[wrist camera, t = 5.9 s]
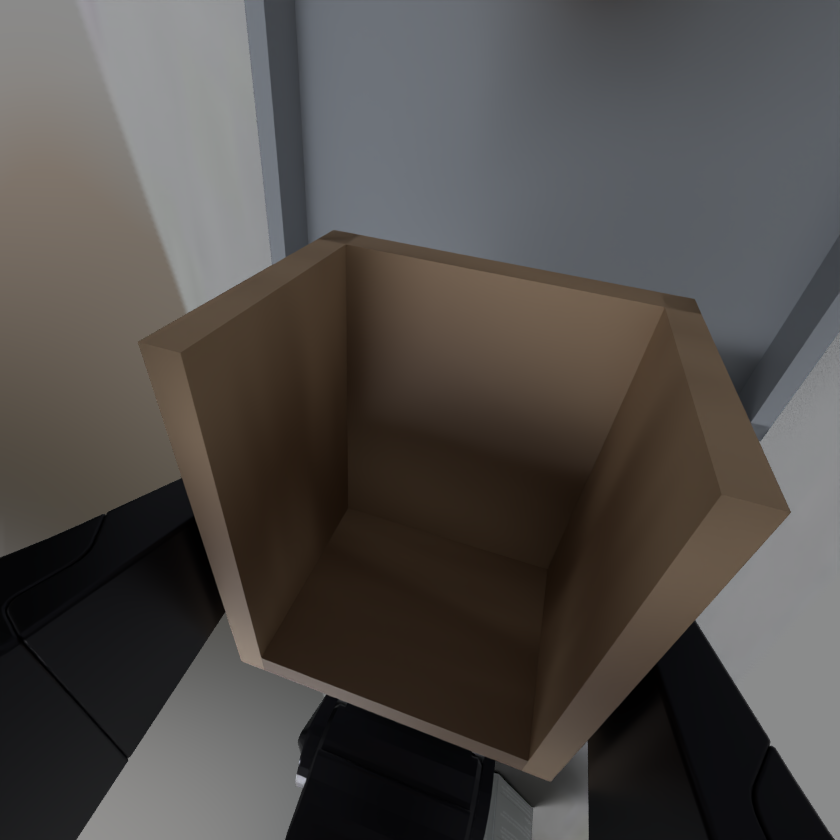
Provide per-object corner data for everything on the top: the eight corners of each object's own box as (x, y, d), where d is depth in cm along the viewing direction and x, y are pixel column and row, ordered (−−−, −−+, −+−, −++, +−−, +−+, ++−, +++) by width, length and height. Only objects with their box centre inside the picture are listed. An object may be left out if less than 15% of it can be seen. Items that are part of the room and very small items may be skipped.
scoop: (564, 567, 11) (550, 782, 8) (340, 499, 12) (241, 661, 9) (694, 298, 7) (790, 511, 4) (333, 230, 8) (138, 341, 5)
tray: (741, 401, 17) (760, 441, 15) (308, 303, 20) (278, 326, 19) (1184, -287, 8) (1366, -403, 6) (273, -269, 11) (208, -342, 9)
